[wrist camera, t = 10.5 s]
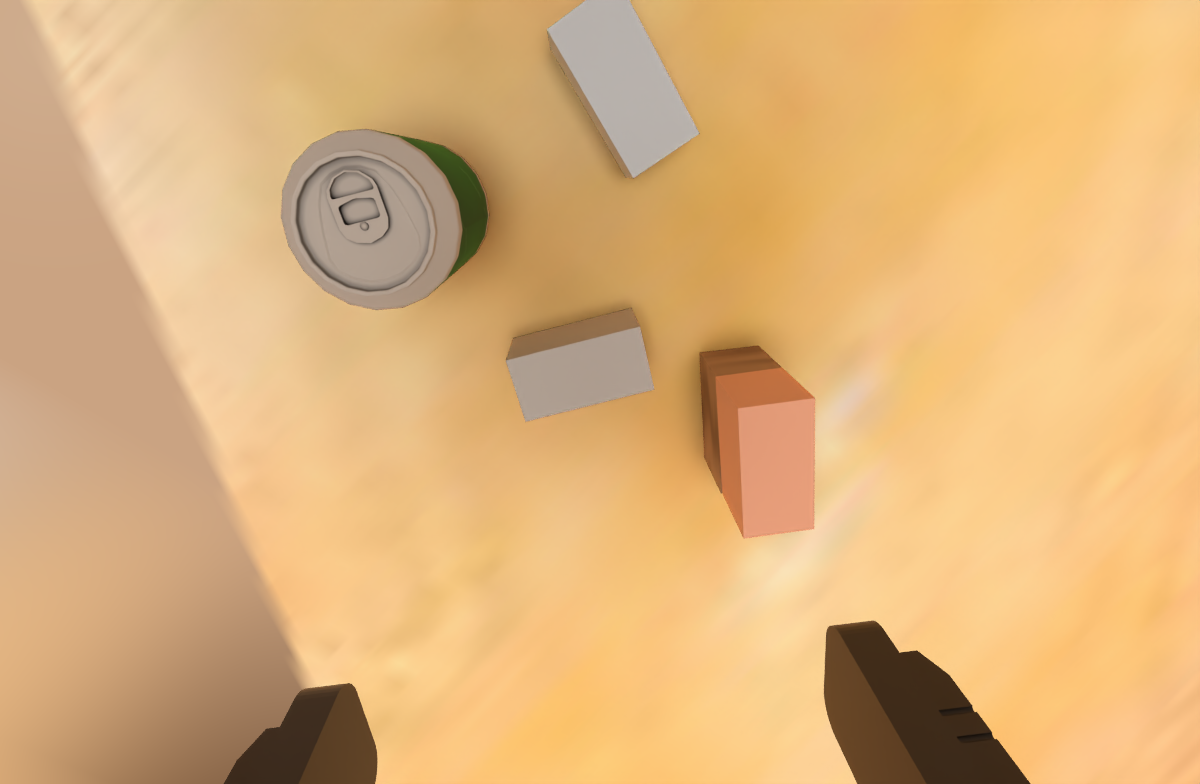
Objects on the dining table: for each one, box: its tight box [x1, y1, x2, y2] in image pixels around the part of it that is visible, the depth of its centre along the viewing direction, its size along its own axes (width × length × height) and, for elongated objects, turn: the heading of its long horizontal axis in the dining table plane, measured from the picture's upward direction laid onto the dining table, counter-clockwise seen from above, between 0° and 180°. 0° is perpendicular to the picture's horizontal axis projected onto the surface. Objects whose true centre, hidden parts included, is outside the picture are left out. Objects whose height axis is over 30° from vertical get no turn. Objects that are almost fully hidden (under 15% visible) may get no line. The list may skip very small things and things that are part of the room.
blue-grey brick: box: [547, 0, 700, 178], centre depth 31 cm, size 8×4×5 cm, turn 33°
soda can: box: [281, 129, 489, 310], centre depth 30 cm, size 8×8×12 cm
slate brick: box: [506, 308, 654, 421], centre depth 37 cm, size 8×4×5 cm, turn 104°
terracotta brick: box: [715, 368, 815, 538], centre depth 34 cm, size 8×4×5 cm, turn 7°
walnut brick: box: [700, 346, 782, 493], centre depth 38 cm, size 8×4×5 cm, turn 6°
